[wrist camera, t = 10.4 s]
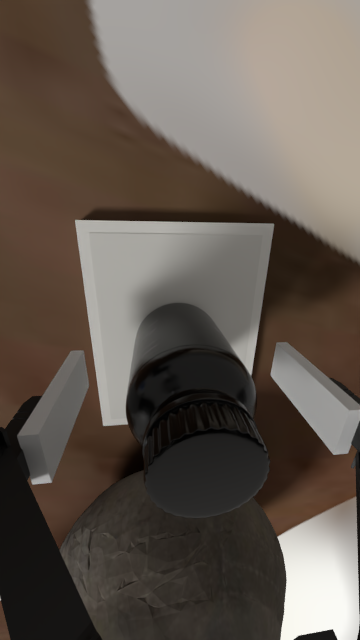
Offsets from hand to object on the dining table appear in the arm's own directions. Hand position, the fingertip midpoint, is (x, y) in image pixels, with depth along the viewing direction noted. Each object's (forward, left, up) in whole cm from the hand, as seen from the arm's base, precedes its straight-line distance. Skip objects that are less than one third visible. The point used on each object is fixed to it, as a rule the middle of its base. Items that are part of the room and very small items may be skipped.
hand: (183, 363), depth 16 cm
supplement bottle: (0, 0, -4) cm, 4 cm away
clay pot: (+22, -1, -5) cm, 23 cm away
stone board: (0, 0, -5) cm, 5 cm away
